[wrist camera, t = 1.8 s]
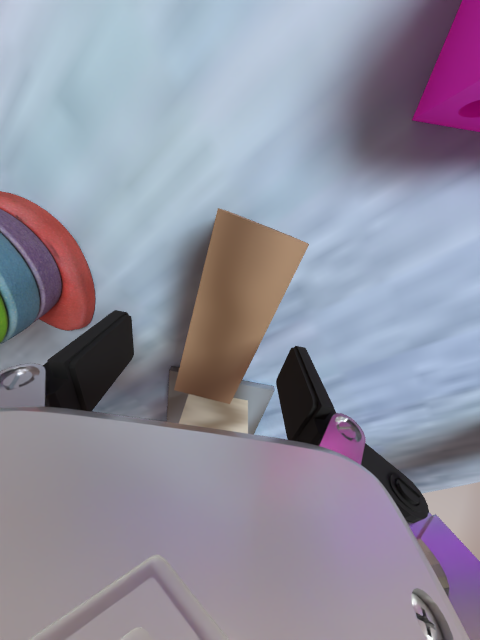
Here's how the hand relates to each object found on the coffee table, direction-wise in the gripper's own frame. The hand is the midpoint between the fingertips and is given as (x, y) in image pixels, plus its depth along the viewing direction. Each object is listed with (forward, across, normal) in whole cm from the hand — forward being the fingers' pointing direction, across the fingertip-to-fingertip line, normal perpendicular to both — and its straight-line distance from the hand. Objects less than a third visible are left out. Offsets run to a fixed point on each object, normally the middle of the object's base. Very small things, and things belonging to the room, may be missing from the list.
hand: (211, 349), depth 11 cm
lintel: (+7, -1, 0) cm, 7 cm away
